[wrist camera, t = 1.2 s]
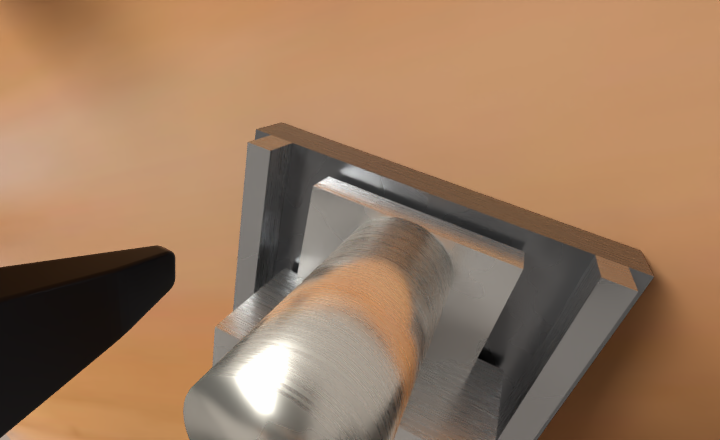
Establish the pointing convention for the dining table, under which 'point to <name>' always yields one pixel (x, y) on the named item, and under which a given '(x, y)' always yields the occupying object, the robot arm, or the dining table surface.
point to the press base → (477, 214)
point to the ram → (363, 333)
